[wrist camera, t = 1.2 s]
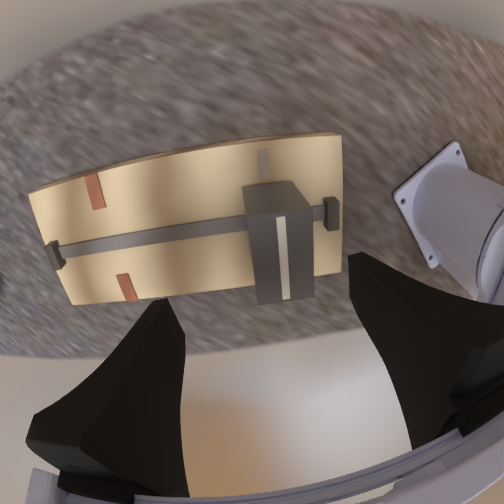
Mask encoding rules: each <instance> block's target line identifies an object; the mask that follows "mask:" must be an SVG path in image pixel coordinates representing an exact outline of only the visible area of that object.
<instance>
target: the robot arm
mask: <svg viewBox="0 0 504 504" xmlns="http://www.w3.org/2000/svg"><path fill="white" fill-rule="evenodd" d="M456 151H457V154H456ZM393 198H394V200H395V202H396V204H397V205H398V207H399V209H400V211H401V213H402V214H403V216H404V218H405V220H406V222H407V224H408V226H409V227H410V229H411V231H412V233H413V235H414V237H415V239H416V241H417V243H418V245H419V247H420V249H421V251H422V253H423V255H424V258H425V260H426V262H427V264H428V266H429V267H430V268H435V267H436V266H437V265H438V264H441V265H442V266H443V267H444V268H445V269H446V270H447V271H448V272H449V273H450V274H451V275H452V276H453V277H454V278H455V279H456V281H457V282H458V283H459V284H460V285H461V286H462V287H463V288H464V289H465V290H466V291H467V292H468V293H469V294H470V295H471V296H472V297H473V298H475V299H476V300H477V301H474V300H470V299H466V298H463V297H459V296H456V295H452V294H449V293H446V292H444V291H441V290H438V289H436V288H433V287H431V286H428V285H426V284H424V283H421V282H419V281H417V280H415V279H413V278H411V277H409V276H407V275H405V274H403V273H401V272H399V271H397V270H395V269H393V268H392V267H390V266H388V265H386V264H384V263H382V262H381V261H379V260H377V259H375V258H373V257H372V256H370V255H368V254H366V253H364V252H360V253H356V254H352V255H348V263H349V291H350V299H351V301H352V303H353V306H354V308H355V311H356V313H357V315H358V317H359V319H360V321H361V323H362V324H363V326H364V328H365V329H366V331H367V333H368V335H369V336H370V338H371V340H372V342H373V343H374V345H375V346H376V349H377V350H378V352H379V354H380V356H381V357H382V359H383V361H384V363H385V365H386V368H387V370H388V373H389V375H390V378H391V380H392V383H393V385H394V388H395V391H396V394H397V397H398V400H399V402H400V405H401V409H402V412H403V415H404V419H405V422H406V426H407V429H408V434H409V438H410V441H411V446H412V451H410V452H408V453H405V454H403V455H400V456H398V457H396V458H393V459H391V460H388V461H386V462H383V463H380V464H378V465H375V466H372V467H369V468H366V469H363V470H360V471H357V472H354V473H351V474H347V475H345V476H341V477H337V478H334V479H330V480H326V481H322V482H318V483H314V484H310V485H305V486H300V487H295V488H290V489H284V490H278V491H272V492H265V493H257V494H249V495H238V496H225V497H203V498H202V497H201V498H190V495H189V491H188V485H187V480H186V475H185V468H184V461H183V452H182V441H181V424H180V403H181V393H182V384H183V375H184V365H185V334H184V332H183V330H182V328H181V326H180V324H179V322H178V320H177V318H176V316H175V314H174V312H173V309H172V307H171V305H170V303H169V301H168V299H167V298H164V299H160V300H155V301H153V302H152V303H151V304H150V305H149V306H148V308H147V309H146V310H145V311H144V313H143V314H142V315H141V317H140V318H139V319H138V321H137V322H136V323H135V324H134V326H133V327H132V328H131V330H130V331H129V332H128V334H127V335H126V336H125V337H124V339H123V340H122V341H121V342H120V343H119V345H118V346H117V347H116V348H115V349H114V351H113V352H112V353H111V354H110V355H109V356H108V358H107V359H106V360H105V361H104V362H103V363H102V364H101V365H100V366H99V367H98V368H97V369H96V370H95V371H94V372H93V373H92V374H91V375H89V376H88V377H87V378H86V379H85V380H84V381H83V382H82V383H81V384H79V385H78V386H77V387H76V388H74V389H73V390H72V391H71V392H69V393H68V394H67V395H65V396H64V397H62V398H61V399H60V400H58V401H57V402H55V403H54V404H52V405H50V406H49V407H47V408H45V409H43V410H42V411H40V412H38V413H37V414H35V415H34V416H33V419H32V422H31V425H30V428H29V431H28V434H27V437H26V441H25V442H26V444H27V446H28V447H29V448H30V449H31V450H32V451H33V452H34V453H35V454H37V455H38V456H39V457H41V458H42V459H44V460H45V461H47V462H48V463H50V464H51V465H53V466H54V467H56V468H58V469H59V470H60V474H59V476H57V475H55V474H52V473H49V472H46V471H43V470H39V469H36V468H33V470H32V474H31V478H30V482H29V487H28V492H27V497H26V503H25V504H326V503H330V502H334V501H338V500H341V499H345V498H348V497H351V496H355V495H358V494H361V493H364V492H367V491H370V490H373V489H376V488H379V487H381V486H384V485H386V484H389V483H392V482H394V481H397V480H399V479H401V480H399V481H397V482H395V483H394V485H393V487H394V488H393V489H392V490H390V491H389V492H387V493H386V494H384V495H383V496H380V497H377V498H374V499H370V500H367V501H364V502H360V503H357V504H466V503H467V502H468V501H470V500H472V499H473V498H475V497H476V496H477V495H479V494H480V493H482V492H483V491H484V490H486V489H487V488H489V487H490V486H491V485H493V484H494V483H495V482H497V481H498V480H499V479H500V478H501V477H503V476H504V187H503V186H501V185H500V184H498V183H496V182H494V181H492V180H490V179H487V178H485V177H483V176H481V175H479V174H477V173H475V172H473V171H470V170H469V169H468V166H467V164H466V161H465V158H464V156H463V153H462V151H461V148H460V146H459V144H458V143H457V142H455V141H452V142H451V143H450V144H449V145H448V146H446V147H445V148H444V149H443V150H442V151H441V152H440V153H439V154H438V155H436V156H435V157H434V158H433V159H432V160H431V161H430V162H429V163H427V164H426V165H425V166H424V167H423V168H422V169H421V170H419V171H418V172H417V173H416V174H415V175H414V176H412V177H411V178H410V179H409V180H408V181H407V182H405V183H404V184H403V185H402V186H401V187H400V188H398V189H397V190H396V191H395V192H394V195H393ZM402 199H403V202H402V203H401V200H402ZM406 476H407V477H406ZM404 477H405V478H404ZM402 478H403V479H402Z"/></svg>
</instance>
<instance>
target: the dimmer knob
mask: <svg viewBox="0 0 504 504" xmlns="http://www.w3.org/2000/svg"><path fill="white" fill-rule="evenodd" d="M242 193H243V201H244V208H245V216H246V223H247V230H248V238H249V245H250V253H251V260H252V267H253V274H254V280H255V287H256V294H257V301H258V305H263V304H270V303H277V302H284V301H290V300H297V299H303V298H309V297H314V236H313V208H312V207H311V205H310V204H309V203H308V201H307V200H306V199H305V197H304V196H303V195H302V194H301V192H300V191H299V190H298V188H297V187H296V186H295V185H294V183H293V182H292V181H285V182H276V183H268V184H260V185H252V186H244V187H242Z"/></svg>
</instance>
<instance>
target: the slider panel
mask: <svg viewBox="0 0 504 504" xmlns="http://www.w3.org/2000/svg"><path fill="white" fill-rule="evenodd" d="M285 181H292V182H293V183H294V185H295V186H296V187H297V188H298V190H299V191H300V192H301V194H302V195H303V196H304V197H305V199H306V200H307V201H308V203H309V204H310V205H311V207H312V208H313V236H314V276H319V275H326V274H332V273H338V272H341V259H342V230H343V169H342V141H341V135H339V134H335V133H332V132H321V133H304V134H291V135H279V136H269V137H260V138H251V139H243V140H236V141H228V142H221V143H215V144H209V145H203V146H197V147H191V148H185V149H180V150H175V151H170V152H165V153H160V154H155V155H151V156H146V157H142V158H138V159H133V160H129V161H125V162H121V163H117V164H113V165H110V166H106V167H102V168H99V169H95V170H92V171H88V172H85V173H81V174H78V175H75V176H71V177H68V178H65V179H62V180H59V181H56V182H53V183H50V184H47V185H44V186H42V187H40V188H38V189H37V190H35V191H33V192H32V193H30V194H28V195H29V199H30V202H31V205H32V208H33V211H34V214H35V217H36V220H37V223H38V226H39V229H40V231H41V234H42V237H43V239H44V242H45V245H46V246H45V247H44V249H45V252H46V254H47V257H48V259H49V261H50V264H51V266H52V268H53V270H54V271H57V273H58V275H59V278H60V280H61V282H62V284H63V286H64V288H65V290H66V293H67V295H68V297H69V299H70V301H71V303H72V305H82V304H93V303H104V302H115V301H125V300H126V302H130V301H138V299H145V298H154V297H163V296H172V295H181V294H189V293H197V292H206V291H214V290H221V289H229V288H237V287H244V286H251V285H255V280H254V274H253V267H252V260H251V253H250V245H249V238H248V230H247V223H246V216H245V208H244V201H243V193H242V187H244V186H252V185H260V184H268V183H276V182H285Z"/></svg>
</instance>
